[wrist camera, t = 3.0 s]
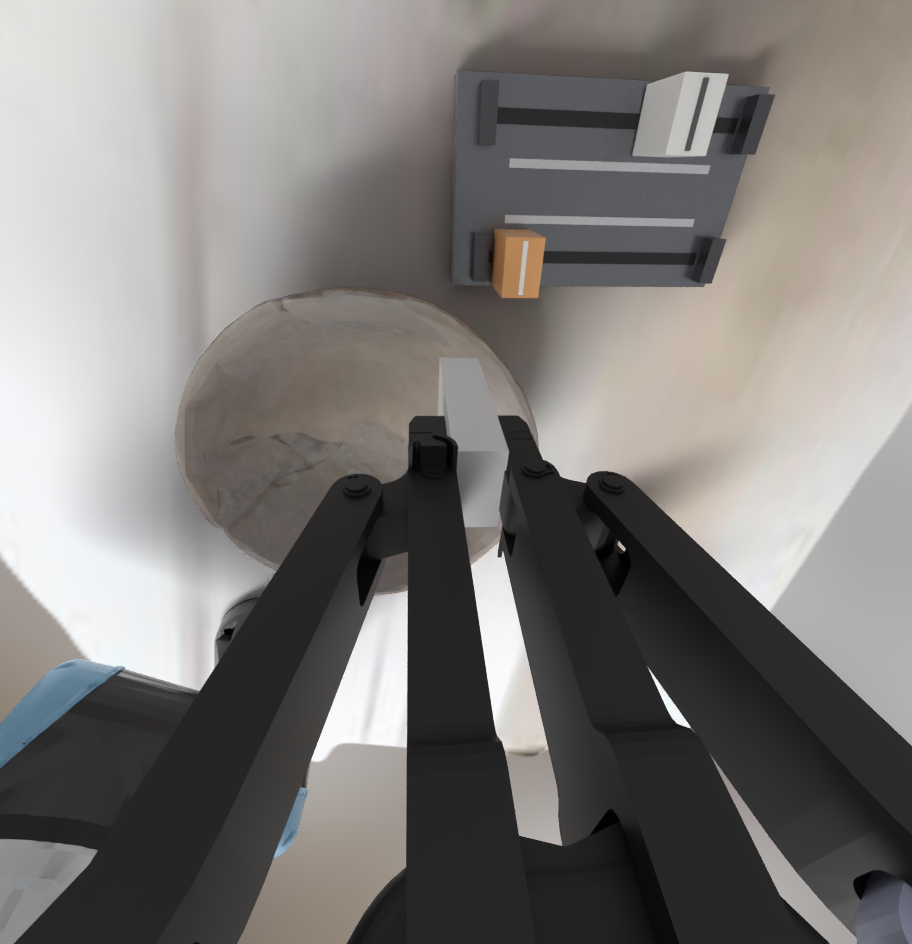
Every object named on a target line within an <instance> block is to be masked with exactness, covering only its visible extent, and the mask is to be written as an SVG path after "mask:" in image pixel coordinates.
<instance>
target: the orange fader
mask: <svg viewBox="0 0 912 944" xmlns="http://www.w3.org/2000/svg"><path fill="white" fill-rule="evenodd" d="M545 240H546V238H545V237H543V236H541V235H539V234H537V233H535V232H533V231H531V230H529V229H494V236H493V251H492V266H491V281H490V284H491V285H492V286H493V287H494V289H495V290H496V291H497V293H498V294H499V295H500V297H501V298H538V295H539V287H540V279H541V272H542V264H543V256H544V248H545Z"/></svg>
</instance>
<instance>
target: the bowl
mask: <svg viewBox="0 0 912 944" xmlns="http://www.w3.org/2000/svg"><path fill="white" fill-rule="evenodd" d="M440 357H445V358H478V359H479V362H480V365H481V368H482V371H483V374H484V377H485V380H486V383H487V386H488V389H489V392H490V395H491V398H492V401H493V404H494V407H495V410H496V413H497V415H517V416H519V417H520V418H522V419H523V420H524V421H525V422H526V423H527V424H528V426H529V429H530V431H531V433H532V436H533V438H534V440H535V443H536V445H537V447H538V434H537V430H536V425H535V421H534V418H533V415H532V413H531V410H530V408H529V405H528V402H527V400H526V397H525V394H524V392H523V389H522V387H521V386H520V385H519V383H518V382H517V381H516V380H515V378H514V376H513V375H512V373H511V371H510V369H509V368H508V366H507V365H506V364H505V363H504V362H503V361H502V360H501V359H500V358H499V357H498V355H497V354H496V353H495V351H494V350H493V349H492V348H491V347H490V346H489V345H488V344H487V343H486V342H485V341H484V340H483V339H482V338H481V337H480V336H479V335H478V334H477V333H476V332H475V331H474V330H473V329H472V328H471V327H470V326H469V325H467V324H466V323H464V322H463V321H461V320H460V319H458V318H456V317H455V316H453V315H452V314H450V313H448V312H447V311H445V310H443V309H442V308H440V307H439V306H436V305H434V304H432V303H430V302H428V301H425V300H421V299H418V298H414V297H410V296H408V295H405V294H402V293H396V292H389V291H384V290H378V289H365V288H351V287H350V288H346V287H338V288H330V289H327V290H317V291H313V292H307V293H300V294H293V295H289V296H286V297H283V298H280V299H274V300H269V301H265V302H263V303H261V304H259V305H257V306H255V307H254V308H252V309H251V310H249V311H248V312H247V313H245V314H244V315H242V316H241V317H239V318H238V319H237V320H235V321H234V322H232V323H231V324H230V325H229V326H227V327H226V328H225V329H224V330H223V331H222V332H221V333H220V334H219V336H218V337H217V338H216V339H215V340H214V341H213V342H212V344H211V345H210V346H209V347H208V349H207V350H206V351H205V353H204V354H203V355H202V356H201V358H200V359H199V361H198V363H197V365H196V366H195V368H194V370H193V372H192V374H191V376H190V378H189V380H188V382H187V384H186V388H185V391H184V394H183V397H182V401H181V404H180V407H179V412H178V418H177V424H176V430H175V447H176V455H177V463H178V465H179V468H180V470H181V472H182V475H183V477H184V480H185V482H186V484H187V487H188V490H189V494H190V495H191V497H192V498H193V500H194V501H195V503H196V504H197V506H198V507H199V509H200V510H201V511H202V513H203V514H204V516H205V517H206V519H207V520H208V521H209V522H211V523H212V524H213V525H214V526H216V527H219V528H222V529H224V531H225V533H226V534H227V536H228V537H229V538H230V539H231V540H232V541H233V542H234V543H235V544H236V545H237V546H238V547H239V548H240V549H242V550H243V551H244V552H246V553H247V554H248V555H250V556H251V557H253V558H255V559H256V560H258V561H260V562H262V563H263V564H265V565H267V566H269V567H271V568H273V569H275V570H276V571H277V570H278V569H279V567H280V565H281V564H282V562H283V561H284V559H285V558H286V556H287V554H288V553H289V551H290V550H291V548H292V547H293V545H294V544H295V542H296V540H297V539H298V537H299V536H300V534H301V533H302V531H303V529H304V528H305V526H306V525H307V523H308V522H309V520H310V519H311V517H312V515H313V514H314V512H315V511H316V509H317V508H318V506H319V504H320V503H321V501H322V500H323V498H324V497H325V495H326V494H327V492H328V490H329V489H330V487H331V486H332V485H333V484H334V483H335V482H336V481H337V480H338V479H340V478H342V477H344V476H347V475H351V474H367V475H371V476H374V477H375V478H377V479H378V480H380V482H381V484H384V483H388V482H392V481H395V480H397V479H399V478H401V477H402V476H403V475H404V474H405V473H406V472H407V470H408V444H409V423H410V421H411V420H412V419H413V418H414V416H438V393H439V364H440ZM538 450H539V447H538ZM501 529H502V521H501V517H500V515H499V521H498V527H465V532H466V539H467V545H468V552H469V559H470V565H471V564H473V563H474V562H475V561H477V560H478V559H479V558H481V557H482V556H483V555H484V554H485V553H487V552H488V551H489V550H490V549H491V548H492V547H494V546H495V545H496V544H497V543H498V542H499V540H500V536H501ZM406 590H408V552H405V553H402V554H398V555H395V556H391V557H388V558H386V564H385V567H384V569H383V572H382V575H381V577H380V580H379V582H378V585H377V588H376V590H375V593H374V595H382V594H392V593H398V592H403V591H406Z"/></svg>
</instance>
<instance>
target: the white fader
mask: <svg viewBox="0 0 912 944" xmlns="http://www.w3.org/2000/svg"><path fill="white" fill-rule="evenodd" d="M728 76H729V74H719V73H701V72H683V73H680V74H677V75H674V76H671V77H668V78H665V79H662V80H659V81H656V82H653V83H650V84H647V87H646V92H645V96H644V101H643V106H642V111H641V116H640V120H639V125H638V130H637V135H636V140H635V145H634V149H633V154H632V156H643V157H693V156H706V153H707V149H708V146H709V142H710V139H711V135H712V132H713V128H714V125H715V121H716V118H717V114H718V111H719V107H720V104H721V100H722V97H723V93H724V90H725V86H726V83H727V79H728Z"/></svg>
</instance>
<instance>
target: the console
mask: <svg viewBox="0 0 912 944" xmlns="http://www.w3.org/2000/svg"><path fill="white" fill-rule="evenodd" d="M653 82H656V81H645V80H627V79H609V78H590V77H572V76H554V75H535V74H517V73H499V72H480V71H462V70H458V72H457V73H456V75H455V101H454V154H453V208H452V261H451V281H452V283H453V285H454V286H492V285H491V284H490V281H491V266H492V251H493V236H494V229H529V230H531V231H533V232H535V233H537V234H539V235H541V236H543V237H545V238H546V240H545V248H544V256H543V264H542V272H541V279H540V286H625V287H704V285H705V283H712V280H713V277H714V274H715V271H716V268H717V266H718V263H719V260H720V257H721V254H722V251H723V248H724V245H725V242H726V239H722V238H720V237H721V234H722V231H723V228H724V225H725V222H726V219H727V216H728V212H729V209H730V206H731V203H732V200H733V197H734V194H735V191H736V188H737V185H738V182H739V179H740V176H741V173H742V170H743V167H744V164H745V161H746V158H747V155H752V154H755V153H756V150H757V147H758V144H759V141H760V138H761V135H762V132H763V129H764V126H765V123H766V120H767V117H768V114H769V111H770V108H771V105H772V102H773V99H774V96H775V95H769V94H768V91H769V88H770V87H755V86H737V85H726V86H725V90H724V93H723V97H722V100H721V104H720V107H719V111H718V114H717V118H716V121H715V125H714V128H713V132H712V135H711V139H710V142H709V146H708V149H707V153H706V156H693V157H643V156H632V154H633V149H634V145H635V140H636V135H637V130H638V125H639V120H640V116H641V111H642V106H643V101H644V96H645V92H646V87H647V84H650V83H653Z"/></svg>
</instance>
